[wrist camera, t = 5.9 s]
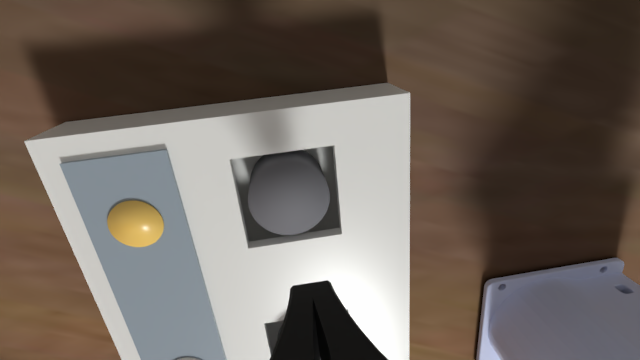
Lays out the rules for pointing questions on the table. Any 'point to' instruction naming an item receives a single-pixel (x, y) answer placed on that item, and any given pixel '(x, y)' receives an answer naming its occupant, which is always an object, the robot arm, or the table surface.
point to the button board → (234, 219)
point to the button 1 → (288, 192)
